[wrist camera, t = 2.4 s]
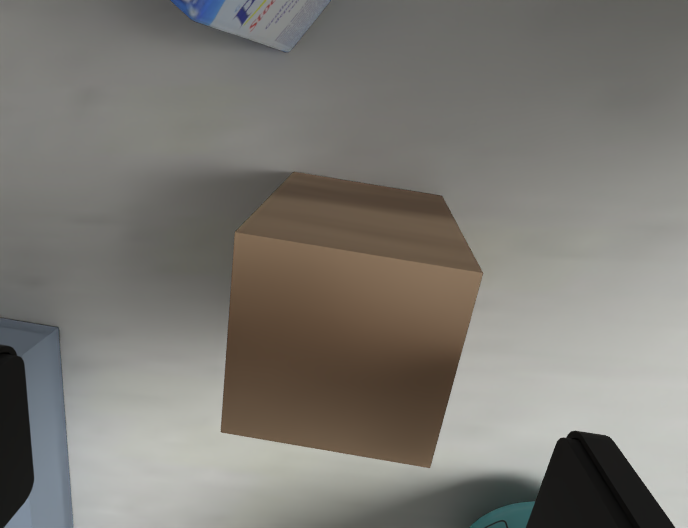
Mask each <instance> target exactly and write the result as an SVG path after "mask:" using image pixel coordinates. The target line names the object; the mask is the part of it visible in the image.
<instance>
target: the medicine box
mask: <svg viewBox="0 0 688 528" xmlns="http://www.w3.org/2000/svg"><path fill="white" fill-rule="evenodd" d="M171 1H172V2H173V3H174V4H175V5H176V6H177V7H178V8H179V9H180V10H181V11H183V12H184V13H185V14H186V15H187V16H188V17H189V18H190V19H191V20H193V21H195V22H198V23H201V24H204V25H206V26H209V27H213V28H215V29H218V30H221V31H224V32H227V33H230V34H234V35H237V36H240V37H242V38H245V39H249V40H251V41H254V42H257V43H261V44H264V45H266V46H269V47H272V48H275V49H278V50H280V51H283V52H290V51H291V50H292V49H293V47H294V46H295V45H296V43H297V42H298V41H299V40H300V38H301V37H302V36H303V35H304V33H305V32H306V31H307V30H308V28H309V27H310V26H311V25H312V24H313V22H314V21H315V20H316V19H317V17H318V16H319V15H320V14H321V12H322V11H323V10H324V9H325V7H326V6H327V5H328V4H329V2H330V1H331V0H171Z"/></svg>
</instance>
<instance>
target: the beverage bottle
mask: <svg viewBox="0 0 688 528" xmlns="http://www.w3.org/2000/svg"><path fill="white" fill-rule="evenodd" d="M534 503H535V501H532V502H521V503H514V504H510V505H506V506H503V507H500V508H498V509H495V510H493V511H491V512H489V513H487V514H486V515H484V516H482V517H481V518H479V519H478V520H477V521H476V522H474V523H473V524H472V525H471V526H470V527H469V528H526V525H527V523H528V520H529V517H530V514H531V512H532V509H533V506H534Z"/></svg>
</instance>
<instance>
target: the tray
mask: <svg viewBox="0 0 688 528" xmlns="http://www.w3.org/2000/svg"><path fill="white" fill-rule="evenodd" d="M0 344H1V345H7V346H11V347H13V348H14V350H15V351H16V353H17V356H20V357H22V359H23V360H24V364H25V375H26V386H27V398H28V410H29V421H30V433H31V445H32V456H33V468H34V484H33V488H32V491H31V493H30V495H29V497H28V499H27V500H26V501H25V503H24V504H23V505H22V506H21V508H20V509H19V510H18V511H17V512H16V514H15V515H14V516H13V517H12V518H11V520H10V521H9V522H8V523H7V525H6V526H5V527H4V528H73V515H72V502H71V489H70V475H69V462H68V449H67V435H66V422H65V409H64V395H63V382H62V369H61V356H60V342H59V329H58V327H52V326H46V325H40V324H34V323H28V322H22V321H16V320H10V319H4V318H0Z"/></svg>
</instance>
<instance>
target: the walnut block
mask: <svg viewBox="0 0 688 528" xmlns="http://www.w3.org/2000/svg"><path fill="white" fill-rule="evenodd" d="M482 275H483V272H482V270H481V268H480V266H479V264H478V263H477V261H476V259H475V257H474V255H473V253H472V251H471V249H470V248H469V246H468V244H467V242H466V240H465V238H464V236H463V234H462V233H461V231H460V229H459V227H458V225H457V223H456V221H455V219H454V217H453V216H452V214H451V212H450V210H449V208H448V206H447V204H446V202H445V201H444V199H443V197H442V196H440V195H434V194H427V193H421V192H415V191H409V190H403V189H397V188H390V187H384V186H378V185H372V184H366V183H360V182H353V181H347V180H341V179H335V178H329V177H323V176H317V175H310V174H304V173H298V172H293V173H292V174H291V175H290V176H289V177H288V178H287V179H286V180H285V181H284V182H283V183H282V184H281V185H280V186H279V187H278V188H277V189H276V190H275V192H274V193H273V194H272V195H271V196H270V197H269V198H268V199H267V200H266V201H265V202H264V203H263V204H262V205H261V206H260V207H259V208H258V209H257V210H256V211H255V212H254V213H253V214H252V215H251V216H250V217H249V218H248V219H247V220H246V221H245V222H244V223H243V224H242V225H241V226H240V227H239V228H238V229H237V230H236V231H235V236H234V250H233V265H232V279H231V293H230V307H229V322H228V336H227V350H226V364H225V379H224V393H223V407H222V421H221V432H222V433H228V434H234V435H240V436H246V437H251V438H257V439H263V440H269V441H275V442H281V443H286V444H292V445H298V446H304V447H310V448H316V449H322V450H327V451H333V452H339V453H345V454H351V455H357V456H362V457H368V458H374V459H380V460H386V461H392V462H398V463H403V464H409V465H415V466H421V467H427V468H430V466H431V463H432V459H433V455H434V451H435V448H436V444H437V440H438V437H439V433H440V429H441V426H442V422H443V418H444V415H445V411H446V407H447V404H448V400H449V396H450V393H451V389H452V385H453V382H454V378H455V374H456V371H457V367H458V363H459V360H460V356H461V352H462V349H463V345H464V341H465V338H466V334H467V330H468V327H469V323H470V319H471V316H472V312H473V308H474V305H475V301H476V297H477V294H478V290H479V286H480V282H481V279H482Z"/></svg>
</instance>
